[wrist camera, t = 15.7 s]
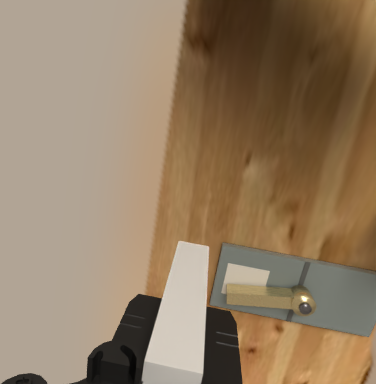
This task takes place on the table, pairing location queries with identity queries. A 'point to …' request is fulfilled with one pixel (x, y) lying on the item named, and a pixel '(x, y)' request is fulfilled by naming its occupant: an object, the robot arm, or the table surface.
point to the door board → (306, 276)
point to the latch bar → (272, 297)
